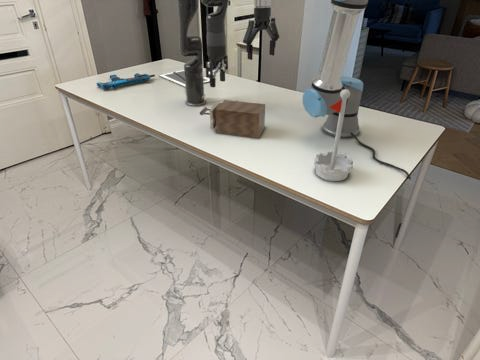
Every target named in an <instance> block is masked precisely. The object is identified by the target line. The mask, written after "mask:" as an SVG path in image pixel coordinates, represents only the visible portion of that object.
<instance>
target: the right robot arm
mask: <svg viewBox="0 0 480 360" xmlns="http://www.w3.org/2000/svg"><path fill="white" fill-rule="evenodd" d="M368 3H369V0H330V5H331V6H332V8H333V10H332V14H331V19H330V22H329V28H328V31H327V35H326V39H325V45H324V49H323V52H322V56H321V61H320V64H319V68H318V73H317V76H315V77H314V78H312V80H311V85H310V88H307V89H306V90H305V91H304V92H303V94H302V99H301V101H302V106H303V108H304V110H305V112H306V113H307V114H308V115H309V116H310V117H312V118H324V117H326V116H327V117H326V120H325V121H324V123H323V126H322V130H323V132H324V133H325V134H326V135H329V136H332V137H336V131H337V125H338V119H339V113H340V112H337V111H335V110H333V109H331V108H329V107H331V106H332V105H334V104H335V103H337V102H338V101H340V100H341V99H342V98H341V96H340V93H341V91H342V90H344V89H347V90H349V92H350V96H349V98H347V101H346V107H345V113H344V118H343V124H342V130H341V135H340V139H341V138H342V139H349V138H354V139H355V141H356V142H357V143H358V144H360V145H361V146H363V147H365V148H367V149H369V150H371V152H372V159H373V160H374V161H376V162H377V163H379V164H382V165H385V166H389V167H391V168H393V169H396V170H398V171H401V172H403V173H404V174H405V175H406V177H407V179H408V180H412V177H411V175H410V174H409V172H408V171H407V170H405V169H404V168H402V167H399V166H396V165H394V164H391V163H388V162H387V161H386V162H385V161H383V160H381V159H378V158H377V157H376V150H375V149H374V148H372V147H371V146H370V145H367V144H365V143H363V142H362V141H360V140H359V138H358V137H357V135H359V132H360V125H359V118H358V117H359V116H358V114H359V111H360V110H359V109H360V105H361V100H362V95H363V92H364V82H363V81H362V79H359V78H355V77H353V76H344V75H343V72H344V70H345V69H344V68H345V66H346V62H347V61H346V60H347V58H348V55H349V51H350V48H351V45H352V41H353V37H354V34H355V31H356V27H357V24H358V20H359V17H360V14H361V13H362V12H363V11H365V10H366V9H367V5H368ZM253 7H254V8H253V17H254V19H249V20H248V23H247V24H248V25H247V28H246V31H245V33H244V37H243V40H242V43H243V44H245V45H246V53H247V60H250V61H253V56H254V55H253V53H254V52H253V51H254V50H253V48H254V47H253V44H252V43H253V42H254V40H255V38H256V36H257V35H258V34H259V32H260V31H263V30H264V31H266V33H267V35H268V36H269V38H270V39H271V40H270V39H269V51H268V52H269V55H270V56H273V57H274V56H275V50H276V49H275V48H276V43H277V41H278V39H280V34H279V30H278V28H277V24H276V18H275V17H271V16H272V8H271V7H272V0H253ZM402 224H403V222H400V223H399V224H398V227H397V229H396V233H395V238H396V239H397V238H399V237H398V236H399V233H400V231H401V228H402Z"/></svg>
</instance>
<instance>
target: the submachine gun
mask: <svg viewBox="0 0 480 360" xmlns="http://www.w3.org/2000/svg"><path fill="white" fill-rule="evenodd" d="M154 77H156V74H147V73H142V74H141V73H139V72H137V73H135V74H133V77H128V78H121V77H119V76H118V75H117V74H110V75H109V79H111V81H107V82H96V83H95V84H96V87H98V88H99V89H101V90H102V91H103V90H109V89H113V90H116V88H118V87H119V88H120V87H122V86H127V85H133V84H138V83H142V82H148V81H149V80H150V79H151V78H154Z"/></svg>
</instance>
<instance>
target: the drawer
mask: <svg viewBox="0 0 480 360" xmlns="http://www.w3.org/2000/svg"><path fill="white" fill-rule="evenodd" d="M221 103H222V102H220V101H217V102H216V103H215V104H214V106H213V107H211V108H208V107H206V106H204V108H203V109H201V111H200V112H199V115H200V116H203V115H208V116H209V122H210V130H212V131H213V130H215V129H216V108H217V107H218V106H219V105H220V104H221ZM207 111H209V112H207Z"/></svg>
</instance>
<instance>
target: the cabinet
mask: <svg viewBox="0 0 480 360" xmlns="http://www.w3.org/2000/svg"><path fill="white" fill-rule="evenodd" d="M220 103H221V104H220V105H219V106H218V107H217V108H216V127H215V130H216V134H221V135H229V136H237V137H245V138H252V139H259V138H260V137H261V134H262V132H263V131H264V129H265V128H266V127H265V126H266V125H265V124H266V103H259V102H258V103H257V102H249V101H240V100H239V101H238V100H231V99H230V100H229V99H223V100H222V102H220Z"/></svg>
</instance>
